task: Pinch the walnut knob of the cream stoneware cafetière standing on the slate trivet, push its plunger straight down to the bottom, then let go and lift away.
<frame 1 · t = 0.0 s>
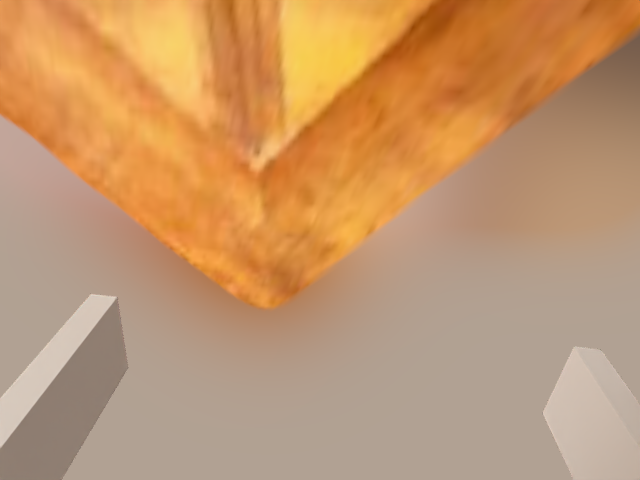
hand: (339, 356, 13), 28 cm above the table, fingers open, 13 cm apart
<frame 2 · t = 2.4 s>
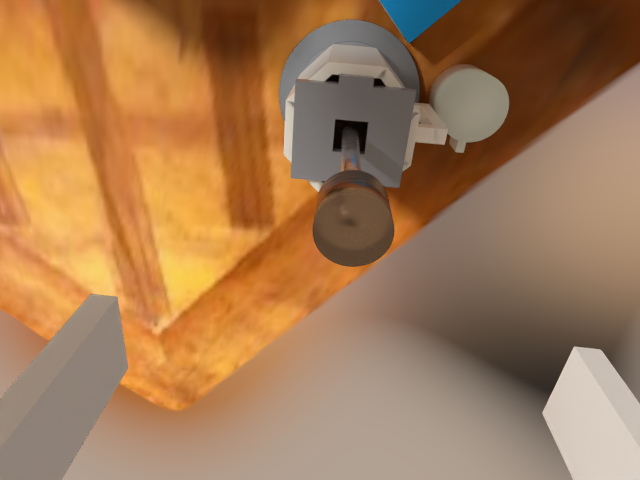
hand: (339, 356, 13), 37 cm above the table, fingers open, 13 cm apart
plunger: (351, 169, 27), point 22 cm above the table, slide at 0.0 cm
trivet: (348, 96, 46), on the table
cafetiere: (348, 97, 45), resting on trivet
espresso cup: (459, 95, 45), on the table
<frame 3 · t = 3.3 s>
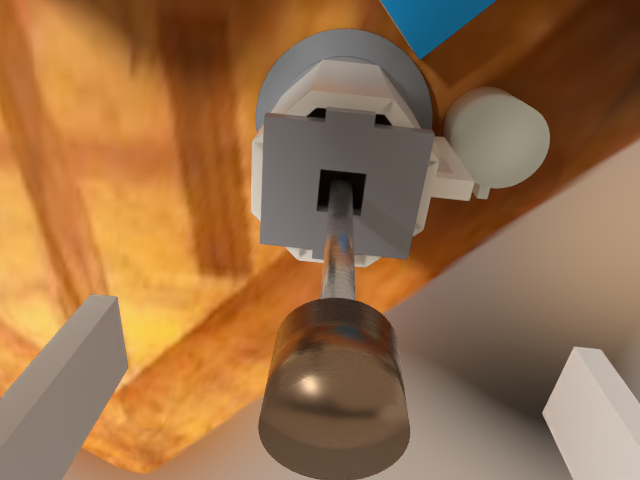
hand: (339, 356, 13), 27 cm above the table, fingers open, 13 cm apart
plunger: (338, 261, 18), point 22 cm above the table, slide at 0.0 cm
trivet: (343, 123, 36), on the table
cafetiere: (343, 126, 36), resting on trivet
espresso cup: (481, 125, 36), on the table
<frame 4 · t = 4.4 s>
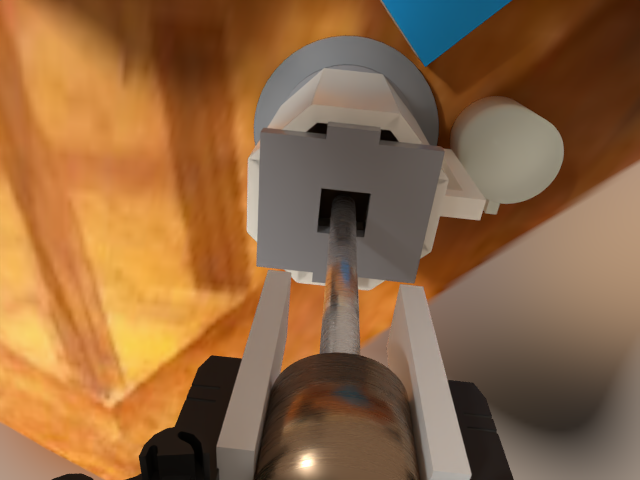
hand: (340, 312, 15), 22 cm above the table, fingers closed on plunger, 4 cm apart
plunger: (341, 295, 16), point 21 cm above the table, slide at 0.0 cm, touching gripper
trivet: (345, 134, 35), on the table
cafetiere: (345, 136, 34), resting on trivet
espresso cup: (489, 136, 34), on the table
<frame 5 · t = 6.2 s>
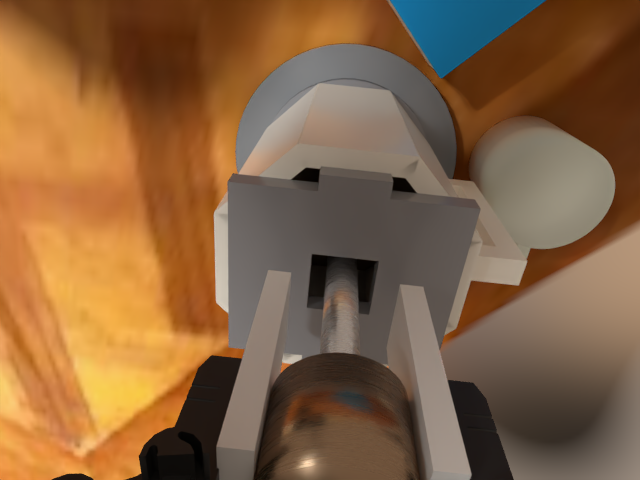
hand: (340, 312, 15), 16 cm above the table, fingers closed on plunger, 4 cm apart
plunger: (341, 295, 16), point 15 cm above the table, slide at 6.3 cm, touching gripper
trivet: (344, 159, 29), on the table
cafetiere: (344, 163, 29), resting on trivet
espresso cup: (516, 162, 29), on the table
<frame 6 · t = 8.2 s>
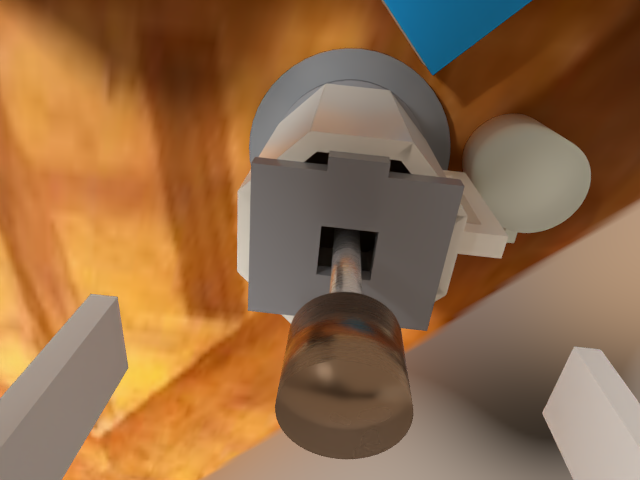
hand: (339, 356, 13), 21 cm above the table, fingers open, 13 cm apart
plunger: (346, 261, 19), point 15 cm above the table, slide at 6.3 cm
trivet: (348, 153, 32), on the table
cafetiere: (348, 157, 31), resting on trivet
espresso cup: (505, 156, 32), on the table
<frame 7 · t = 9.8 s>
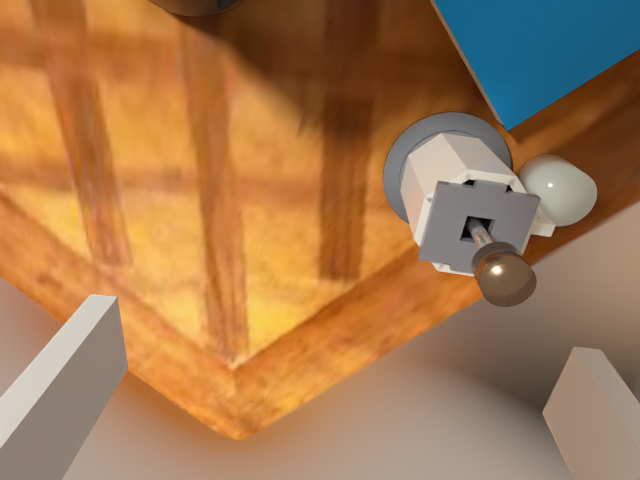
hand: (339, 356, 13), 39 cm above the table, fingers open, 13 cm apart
plunger: (479, 233, 38), point 15 cm above the table, slide at 6.3 cm
trivet: (444, 174, 51), on the table
cafetiere: (446, 176, 50), resting on trivet
espresso cup: (542, 179, 51), on the table
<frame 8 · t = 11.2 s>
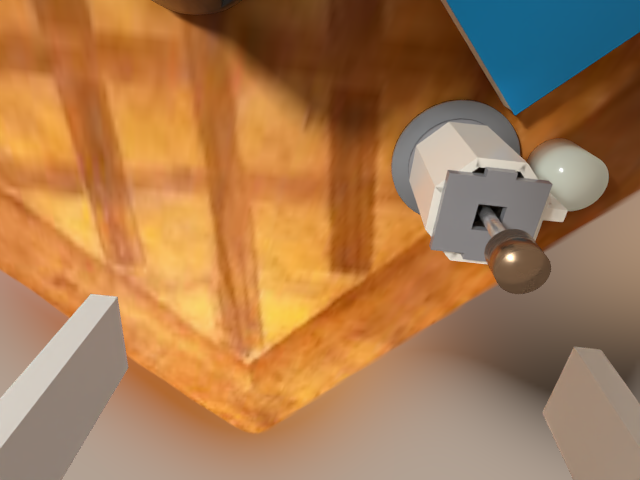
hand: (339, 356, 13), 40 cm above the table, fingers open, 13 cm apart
plunger: (490, 221, 38), point 15 cm above the table, slide at 6.3 cm
trivet: (453, 162, 51), on the table
cafetiere: (455, 165, 50), resting on trivet
espresso cup: (552, 164, 50), on the table
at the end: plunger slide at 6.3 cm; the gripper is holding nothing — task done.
